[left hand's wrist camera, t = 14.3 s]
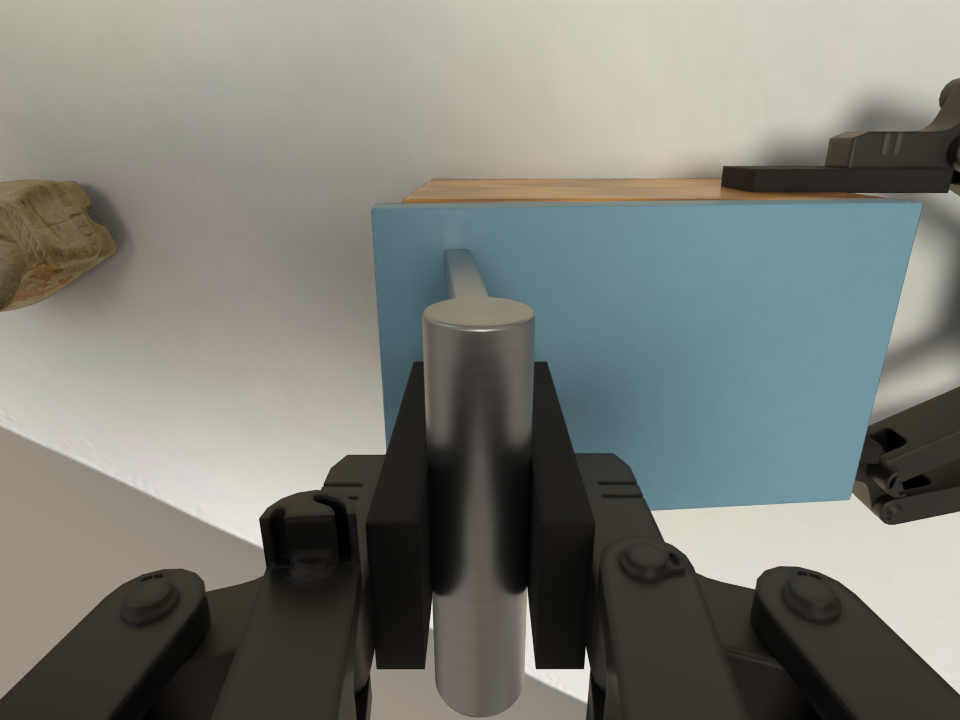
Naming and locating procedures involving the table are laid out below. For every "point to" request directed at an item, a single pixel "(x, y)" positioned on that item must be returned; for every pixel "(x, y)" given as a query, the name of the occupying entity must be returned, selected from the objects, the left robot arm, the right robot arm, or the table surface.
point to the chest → (597, 191)
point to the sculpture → (46, 239)
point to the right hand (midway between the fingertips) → (717, 319)
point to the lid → (625, 370)
